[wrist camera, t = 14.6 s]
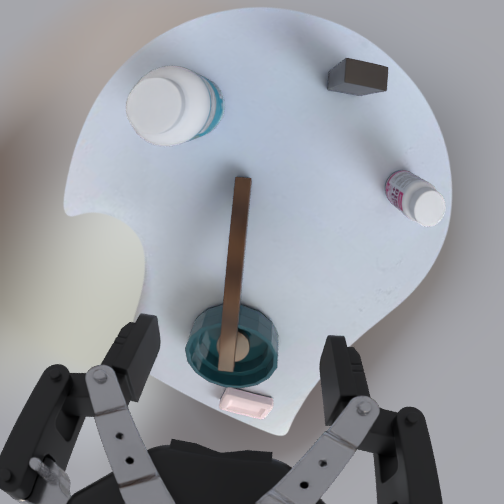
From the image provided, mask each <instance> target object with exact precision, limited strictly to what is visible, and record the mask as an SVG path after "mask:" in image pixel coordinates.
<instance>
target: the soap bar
mask: <svg viewBox="0 0 504 504" xmlns="http://www.w3.org/2000/svg"><path fill="white" fill-rule="evenodd" d="M219 408H220V409H222V410H226V411H229V412H233V413H237V414H241V415H245V416H249V417H253V418H257V419H265V417H266V416H267V415H268V413H269V412H270V411H271V409H272V408H273V399H272V398H269V397H265V396H261V395H257V394H253V393H249V392H245V391H242V390H238V389H234V388H231V387H228V388H226V390H225V392H224V394H223V396H222V398H221V400H220V404H219Z"/></svg>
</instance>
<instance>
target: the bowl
mask: <svg viewBox="0 0 504 504" xmlns="http://www.w3.org/2000/svg"><path fill="white" fill-rule="evenodd" d="M222 312H223V305H220V306H217V307H213V308H210V309H207V310H206V311H205V312H203V313H202V314H201V315H200V316H199V317H197V318H196V320H195V323H194V325H193V328H192V331H191V333H190V336H189V339H188V342H187V345H186V348H185V351H186V356H187V361H188V363H189V364H190V366H191V367H192V368H193V370H194V371H195V372H196V373H197V374H198V375H200V376H201V377H203V378H204V379H206V380H207V381H209V382H211V383H214V384H217V385H220V386H223V387H231V388H245V387H250V386H255V385H258V384H260V383H261V382H263V381H265V380H267V379H268V378H270V376H271V375H272V374H273V372H274V371H275V370H276V368H277V361H278V334H277V332H276V330H275V328H274V325H273V323H272V322H271V321H270V320H269V319H267V318H266V317H265V316H264V315H263V314H262V313H260V312H259V311H256V310H253V309H251V308H248V307H245V306H243V305H240V311H239V322H238V329H241V330H243V331H244V332H245V333H246V334H247V335H248V337H249V339H250V349H249V352H248V354H247V356H246V357H245V358H244V359H242V360H240V361H237V362H235V367H234V371H233V372H226V371H218V362H219V353H218V351H217V347H216V344H217V340H218V338H219V336H220V335H221V324H222Z"/></svg>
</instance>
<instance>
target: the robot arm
mask: <svg viewBox="0 0 504 504" xmlns="http://www.w3.org/2000/svg"><path fill="white" fill-rule="evenodd" d="M159 349H160V333H159V326H158V319H157V316H154V315H148V314H140V315H139V317H138V319H137V321H136V322H135V323H133V322H129V323H128V324H127V325H125V326H124V327H123V328H122V329H121V331H120V332H119V334H118V337H117V338H116V339H115V341H114V343H113V344H112V346H111V348H110V349H109V351H108V353H107V355H106V356H105V358H104V360H103V362H102V363H101V365H97V366H94V367H92V368H91V369H90V370H88V372H87V373H69V371H68V369H67V368H66V367H65V366H63V365H59V364H55V365H52V366H49V367H48V368H47V369H46V370H45V371H44V372H43V374H42V376H41V378H40V379H39V381H38V383H37V385H36V386H35V388H34V390H33V391H32V393H31V395H30V397H29V399H28V401H27V403H26V404H25V406H24V408H23V410H22V412H21V414H20V416H19V417H18V419H17V421H16V423H15V425H14V427H13V430H12V431H11V433H10V435H9V438H8V440H7V442H6V444H5V446H4V448H3V450H2V452H1V455H0V489H2V490H3V491H4V492H6V493H7V494H9V495H10V496H11V497H12V498H13V499H15V500H16V501H18V502H19V503H21V504H325V503H324V502H323V501H322V499H320V498H321V496H322V495H323V494H324V493H325V492H326V490H327V489H328V488H329V486H330V485H331V484H332V483H333V482H334V480H335V479H336V478H337V476H338V475H339V474H340V472H341V471H342V470H343V468H344V467H345V465H346V464H347V463H348V462H349V460H350V459H351V457H352V456H353V454H354V453H355V452H356V450H357V449H358V450H362V451H367V452H371V453H373V455H374V466H375V476H376V490H377V504H442V496H441V490H440V485H439V479H438V474H437V468H436V464H435V459H434V455H433V449H432V445H431V441H430V437H429V432H428V428H427V425H426V420H425V417H424V415H423V414H422V412H421V411H420V410H418V409H416V408H414V407H404V408H402V409H401V410H400V411H399V412H398V413H397V412H393V411H389V410H384V409H382V408H379V405H378V404H377V402H376V401H375V400H373V399H372V398H371V397H370V394H369V389H368V385H367V381H366V378H365V373H364V369H363V366H362V362H361V358H360V355H359V354H358V352H357V351H356V350H355V348H354V347H347V344H346V340H345V337H344V336H334V335H328V337H327V339H326V343H325V346H324V349H323V352H322V355H321V359H320V378H321V387H322V396H323V405H324V415H325V425H326V426H331V427H330V428H329V429H328V430H327V431H325V432H324V433H323V434H322V435H321V436H320V437H319V439H318V440H317V441H316V442H315V443H314V445H313V446H312V447H311V448H310V449H309V450H308V451H307V452H306V454H305V455H304V456H303V457H302V458H301V459H300V460H299V462H298V463H297V464H296V465H295V466H294V467H293V468H292V467H290V466H289V465H287V464H285V463H283V462H281V461H279V460H276V459H273V458H272V452H263V451H262V452H261V451H250V450H245V451H237V452H225V453H220V452H217V451H214V450H211V449H209V448H206V447H203V446H201V445H198V444H196V443H191V442H185V441H180V440H175V439H172V440H171V444H170V445H162V446H158V447H154V448H151V449H149V450H147V449H146V447H145V445H144V443H143V441H142V439H141V437H140V434H139V432H138V430H137V428H136V426H135V423H134V421H133V418H132V416H131V413H130V411H129V409H128V405H129V402H130V401H134V402H138V401H139V398H140V396H141V393H142V391H143V388H144V386H145V383H146V381H147V378H148V376H149V374H150V371H151V369H152V366H153V364H154V362H155V359H156V357H157V355H158V352H159ZM85 417H94V419H95V423H96V426H97V429H98V432H99V435H100V438H101V441H102V444H103V447H104V449H105V452H106V455H107V458H108V460H109V463H110V465H111V468H112V470H113V472H111V473H109V474H108V475H106V476H104V477H103V478H101V479H99V480H97V481H96V482H94V483H92V484H91V485H89V486H87V487H85V488H83V489H81V490H80V491H78V492H76V493H74V494H73V495H72V496H71V495H70V479H69V477H68V475H67V474H66V473H65V470H66V467H67V464H68V461H69V459H70V456H71V453H72V450H73V448H74V445H75V443H76V440H77V437H78V435H79V432H80V430H81V427H82V425H83V422H84V420H85Z"/></svg>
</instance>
